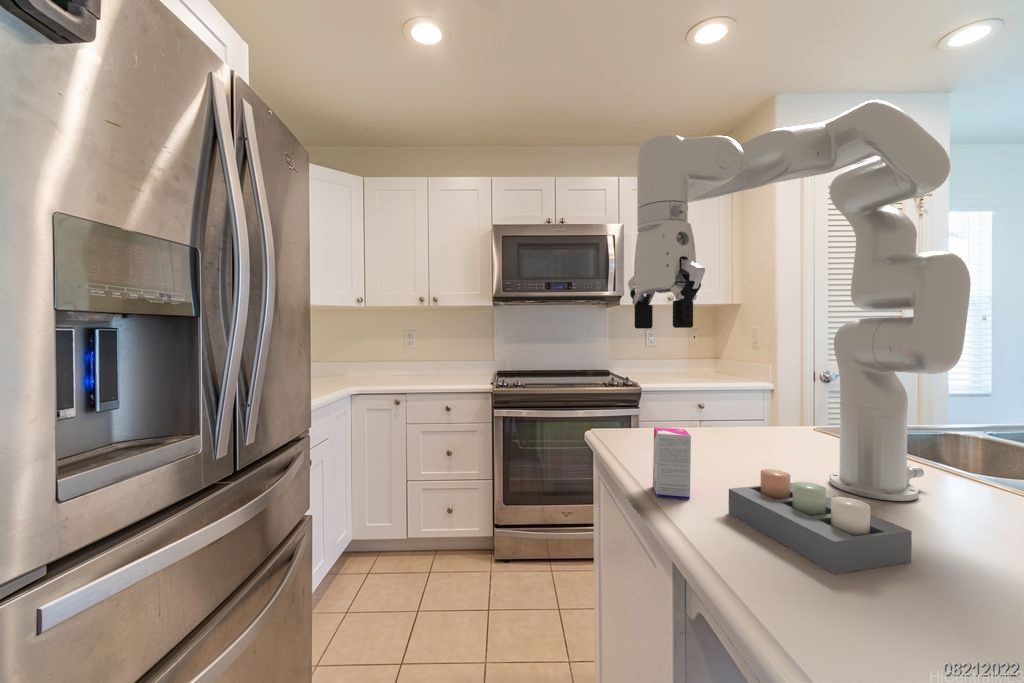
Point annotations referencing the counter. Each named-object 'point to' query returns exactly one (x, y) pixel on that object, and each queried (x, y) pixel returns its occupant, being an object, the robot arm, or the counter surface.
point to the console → (821, 533)
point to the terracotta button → (775, 484)
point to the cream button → (850, 516)
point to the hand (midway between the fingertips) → (661, 328)
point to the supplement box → (671, 463)
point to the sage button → (809, 498)
